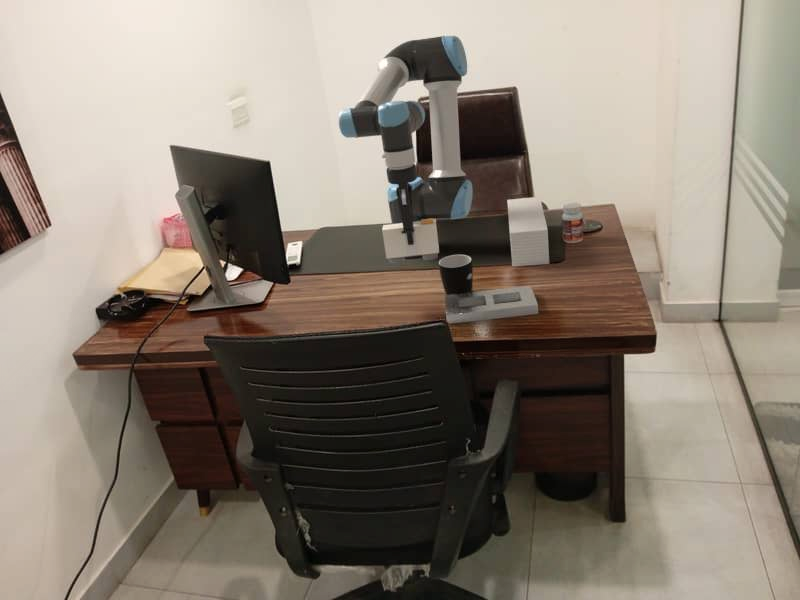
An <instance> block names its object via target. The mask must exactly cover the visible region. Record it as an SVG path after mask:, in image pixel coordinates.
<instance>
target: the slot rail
mask: <svg viewBox="0 0 800 600" xmlns="http://www.w3.org/2000/svg"><path fill="white" fill-rule="evenodd" d="M443 297H444V305H445V318H446V322H447V321H448V322H449V324H448V325H451V324H459V323H467V322H476V321H477V322H478V321H485V320H496V319H503V318H513V317H519V316H520V317H522V316H530V315H531V316H532V315H538V314H539V304H538V301H537V299H536V296H535V293H534V291H533V288H532V286H531V285H524V286H522V285H521V286H515V287H513V286H512V287H504V288H496V289H486V290H478V291H471V292H469V293H460V294H452V295H446V294H445V295H444V296H443Z"/></svg>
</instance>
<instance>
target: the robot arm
mask: <svg viewBox="0 0 800 600" xmlns="http://www.w3.org/2000/svg"><path fill="white" fill-rule="evenodd" d="M461 40H462V39H460V38H459V37H458V36H456V35H442V36H435V37H427V38H420V39H412V40H408V41H405V42H403V43H401V44H399V45H397V46H396V47H394V48H393V49H391V50H390V51H389V52H388V53H387V54H386V55H385V56H384V57H383V59H381V61H380V62H379V63H378V64H379V65H378V66H377V67H378V68H377V74H376V75H375V77H373V79H372V81H371V83H369V86H368V87H367V88H366V90H365V92H364V93H363V94H362V95H361V97H360V98H359V100H358V101H357V103H356V105H355V106H354V107H349V108H344V109H342V110H341V111H340V113H339V115H338V127H339V130H340V134H342V136H343V137H345V138H350V139H351V138H356V139H357V138H365V137H377V136H379V137H381V141H382V149H383V154H382V155H381V158H382V159H384V161H385V166H386V167H387V168H386V176H387V182H388V183H389V184H390V185H389V186H388V188H387V202H388V207H389V215H390V220H391V224H398V223H403V229H404V230H403V231H402V234H404V235H405V241H406V248H407V255H408V256H406V257H404V259H410V258H411V259H412V258H417V257H418V258H419V257H423V255H418V251H417V244H416V237H415V231H414V228H413V222H415V221H421V220H422V219H430V218H433V219H436V220H455V219H463V218H466V217H467V216H468V214H469V213H470V210H471V206H472V202H473V192H474V191H473V190H474V189H473V183H472V182H471V180H469V179H467V174H466V173H465V172H464V171H463V170H462V168H461V167H462V166H461V151H460V150H461V148H460V125H459V124H460V123H459V102H458V89H459V87H460V86H461V84H462V83H463V79H462V77H465V76H466V75H467V74H468V61H467V60H468V59H467V56H466V55H467V54H466V51H465V48H464V44H463V42H462V41H461ZM415 81H422V82H423V83H422V84H423V85H422V86H423V87H425V89H426V90H427V91H428V96H429V97H428V99H429V100H428V102H429V121H430V135H431V136H430V137H431V138H430V139H431V152H432V154H431V156H432V157H431V158H432V172H431V173H430V175H429V176H428V182H424V180H423V179H422V177H421V176H418V171H417V165H416V164H415V162H416V156H415V155H416V154H415V147H414V143H413V141H414V140H413V133H414V132H416V131H418V130H419V129H420V128H421V126H422V125H423V124H424V122H425V118H426V112H425V109H424V107H423V106H422V104H420V103H419V102H418V101H415V100H408V101H405V100H393V99H394V98H395V96H396V94H397V92H398V91H399V89H400V88H402V87H404V86H405V85H406V84H407V83H409V82H410V83H411V82H415ZM392 100H393V101H392ZM413 255H415V256H413Z"/></svg>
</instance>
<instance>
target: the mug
mask: <svg viewBox="0 0 800 600" xmlns="http://www.w3.org/2000/svg"><path fill="white" fill-rule="evenodd" d="M438 267H439V274H440V279H441V283H442V286H443V289H444V292H445V295H452V294H460V293H469V292H473V291H472V290H473V284H474V283H473V281H474V280H473V279H474V278H473V277H474V275H473V274H474V272H473V269H474V268H473V259H472V257H471V256H469V255H466V254H452V255H448V256H444V257H442V258H441V259H440V260H439V262H438Z"/></svg>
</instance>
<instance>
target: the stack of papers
mask: <svg viewBox="0 0 800 600" xmlns="http://www.w3.org/2000/svg"><path fill="white" fill-rule="evenodd" d="M541 199H542V198H541V196H533V197H522V198H514V199H507V200H506V202H507V203H506V204H507V214H508V215H507V216H508V228H509V241H510V242H509V243H510V254H511V256H510V257H511V265H512V266H511V267H513V266H514V267H523V266H524V267H525V266H527V267H528V266H536V265H549V264H550V255H549V254H550V253H549V252H550V251H549V250H550V249H549V247H550V246H549V231H548V229H549V228H548V226H547V221H546V217H545V212H544V207H543V204H542V203H543V202H542V200H541Z"/></svg>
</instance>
